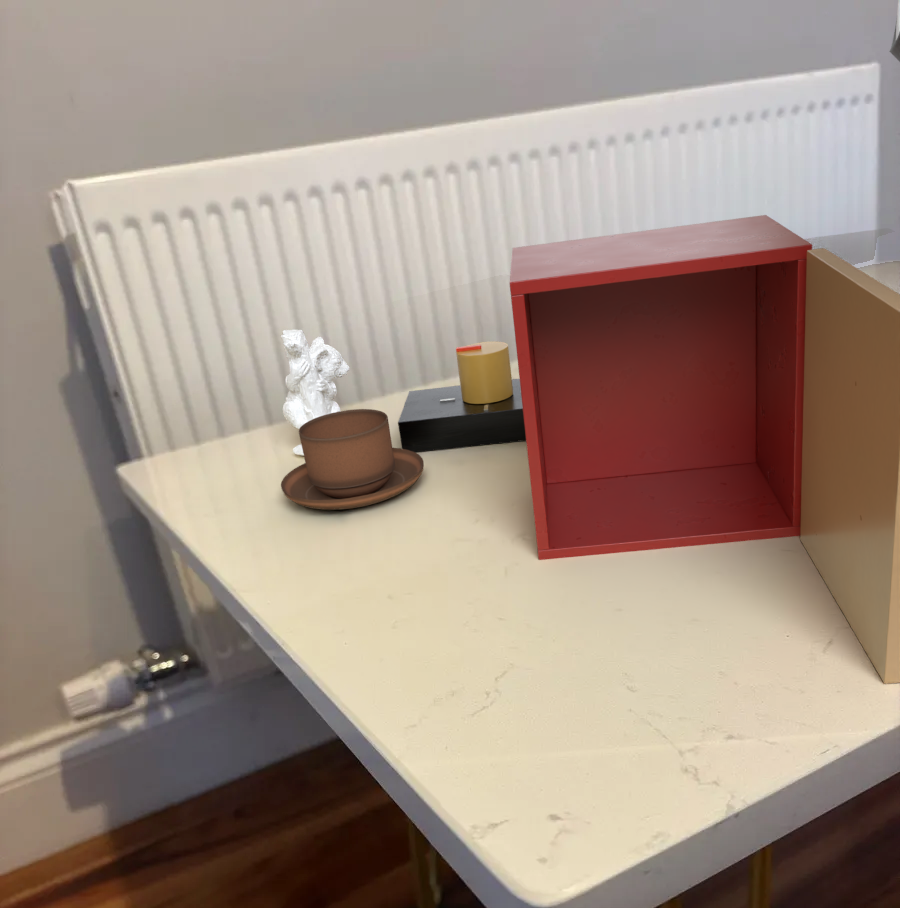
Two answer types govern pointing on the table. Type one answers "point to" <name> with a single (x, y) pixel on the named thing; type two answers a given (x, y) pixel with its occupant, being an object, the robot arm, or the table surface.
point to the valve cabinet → (663, 385)
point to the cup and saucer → (350, 462)
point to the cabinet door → (854, 449)
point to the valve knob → (484, 372)
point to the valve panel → (459, 420)
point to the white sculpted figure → (310, 379)
